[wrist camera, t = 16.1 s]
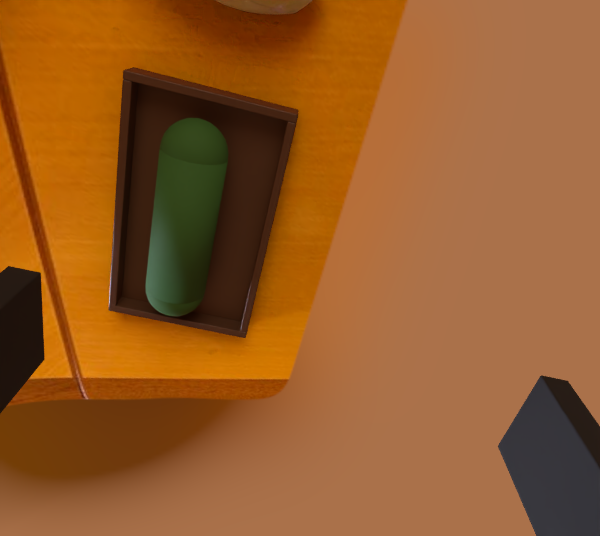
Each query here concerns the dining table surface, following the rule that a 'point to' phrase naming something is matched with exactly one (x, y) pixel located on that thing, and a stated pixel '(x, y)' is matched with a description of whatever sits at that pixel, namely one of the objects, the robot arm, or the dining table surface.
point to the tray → (234, 203)
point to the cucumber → (185, 214)
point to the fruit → (267, 5)
